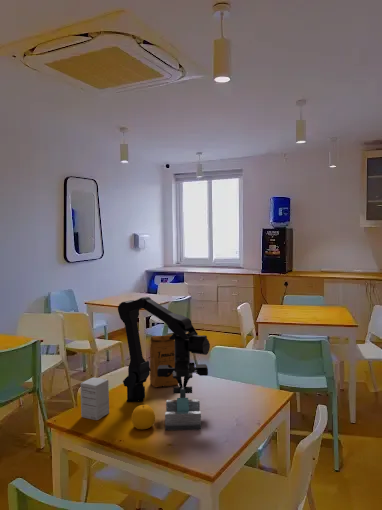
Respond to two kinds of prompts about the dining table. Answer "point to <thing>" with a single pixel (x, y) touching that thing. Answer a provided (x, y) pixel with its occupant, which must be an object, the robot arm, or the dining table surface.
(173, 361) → the coffee package
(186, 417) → the vise
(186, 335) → the robot arm
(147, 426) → the orange fruit
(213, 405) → the dining table surface
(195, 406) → the vise jaw
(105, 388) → the supplement box
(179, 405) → the teal block
